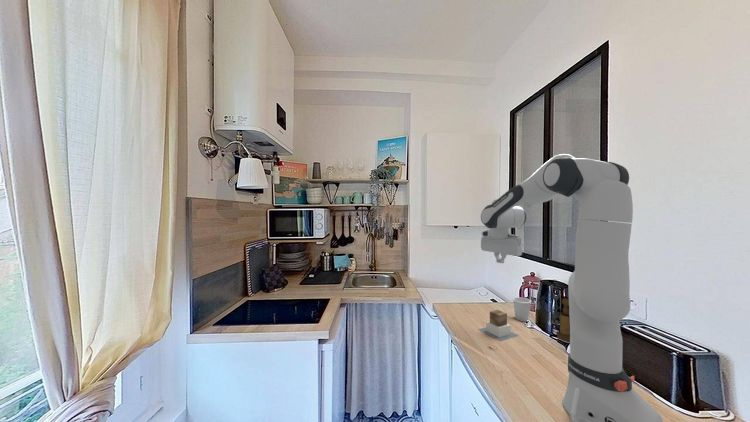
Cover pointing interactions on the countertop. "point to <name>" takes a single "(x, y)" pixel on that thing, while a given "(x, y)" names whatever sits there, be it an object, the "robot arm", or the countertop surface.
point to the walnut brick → (498, 318)
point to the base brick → (498, 329)
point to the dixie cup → (521, 308)
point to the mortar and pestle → (564, 322)
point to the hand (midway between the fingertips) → (500, 262)
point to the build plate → (497, 336)
